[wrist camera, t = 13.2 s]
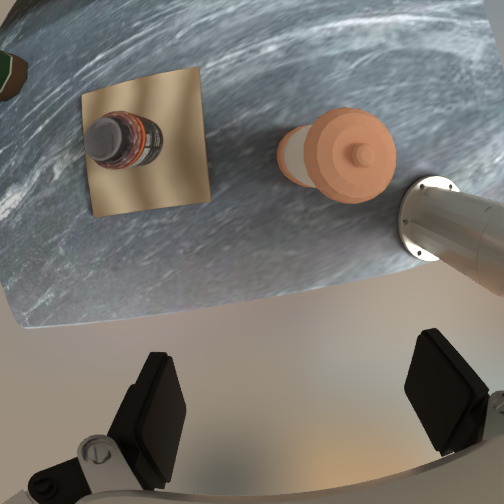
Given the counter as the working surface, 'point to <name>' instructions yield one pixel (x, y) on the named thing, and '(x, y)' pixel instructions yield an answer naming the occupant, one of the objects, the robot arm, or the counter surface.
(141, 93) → the birch board
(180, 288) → the counter surface
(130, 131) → the supplement bottle
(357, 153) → the pepper shaker
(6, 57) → the beer bottle
